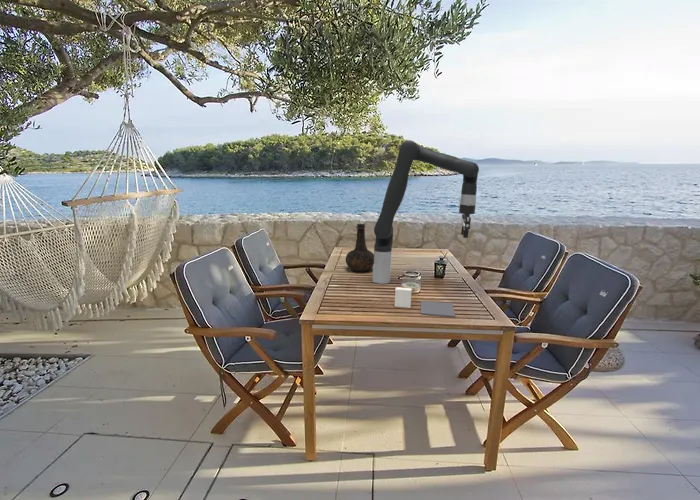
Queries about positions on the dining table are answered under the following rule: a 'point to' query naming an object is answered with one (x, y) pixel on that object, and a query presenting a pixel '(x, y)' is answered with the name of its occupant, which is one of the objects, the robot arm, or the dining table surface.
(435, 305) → the mat
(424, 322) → the dining table surface
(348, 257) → the glass bottle
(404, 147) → the robot arm
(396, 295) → the white block copper side
